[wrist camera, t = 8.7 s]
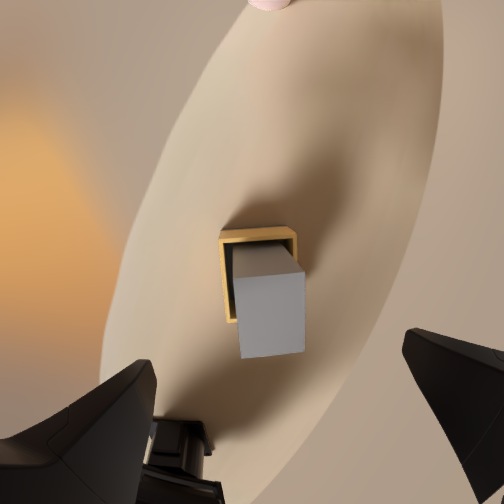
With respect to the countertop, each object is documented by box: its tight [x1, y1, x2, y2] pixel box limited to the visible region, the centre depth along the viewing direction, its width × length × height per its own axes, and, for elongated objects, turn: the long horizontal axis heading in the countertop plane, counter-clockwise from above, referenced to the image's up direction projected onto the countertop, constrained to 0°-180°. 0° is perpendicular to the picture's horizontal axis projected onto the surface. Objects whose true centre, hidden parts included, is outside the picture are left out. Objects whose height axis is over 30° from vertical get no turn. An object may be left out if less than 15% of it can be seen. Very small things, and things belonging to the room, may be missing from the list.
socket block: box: [218, 225, 298, 323], centre depth 18 cm, size 5×5×4 cm
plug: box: [233, 239, 305, 359], centre depth 15 cm, size 4×3×8 cm
